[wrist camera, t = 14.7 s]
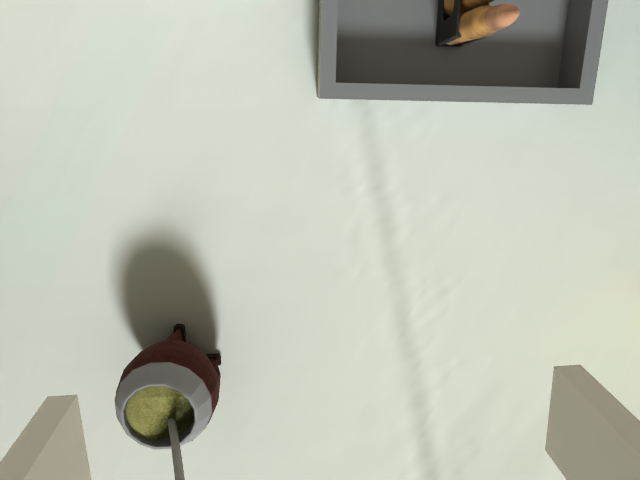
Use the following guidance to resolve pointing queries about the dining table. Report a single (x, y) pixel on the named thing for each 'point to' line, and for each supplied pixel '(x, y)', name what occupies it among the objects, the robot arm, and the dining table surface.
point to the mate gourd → (168, 395)
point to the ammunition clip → (470, 21)
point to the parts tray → (459, 53)
